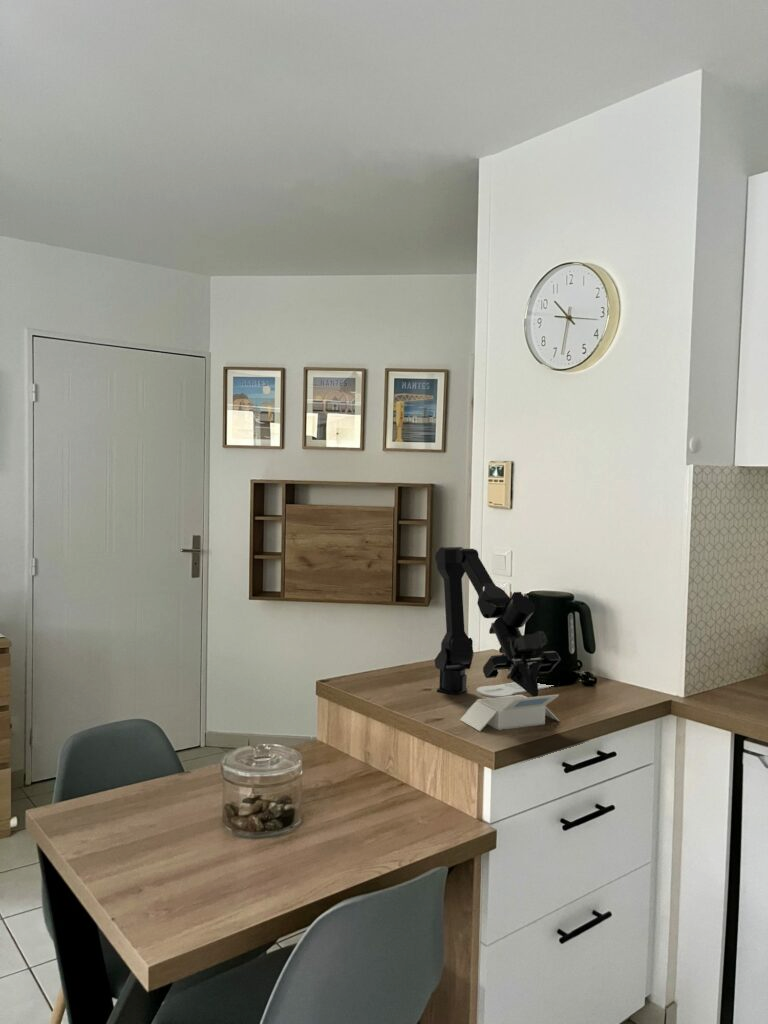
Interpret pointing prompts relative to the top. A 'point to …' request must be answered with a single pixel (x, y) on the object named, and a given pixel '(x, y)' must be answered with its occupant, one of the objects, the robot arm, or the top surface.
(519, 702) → the panel
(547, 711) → the flap
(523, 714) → the carton
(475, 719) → the flap
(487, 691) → the white pronged spatula
